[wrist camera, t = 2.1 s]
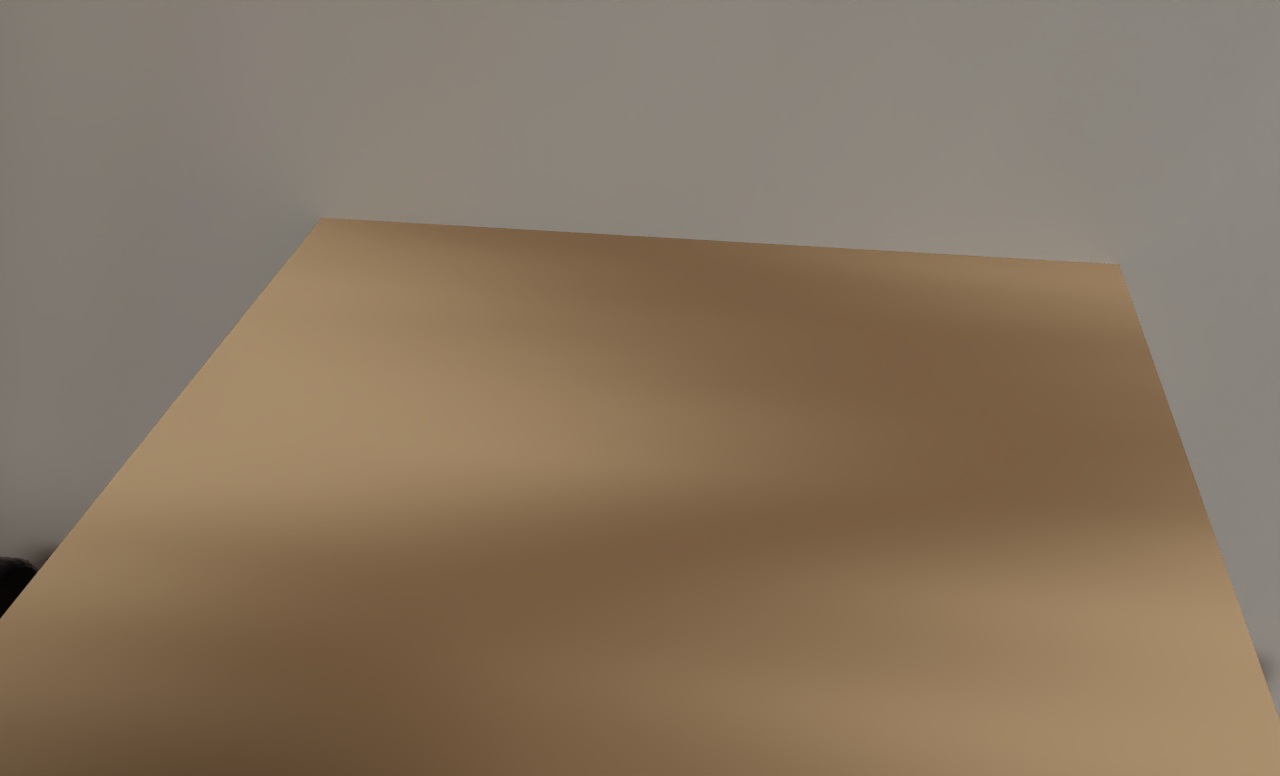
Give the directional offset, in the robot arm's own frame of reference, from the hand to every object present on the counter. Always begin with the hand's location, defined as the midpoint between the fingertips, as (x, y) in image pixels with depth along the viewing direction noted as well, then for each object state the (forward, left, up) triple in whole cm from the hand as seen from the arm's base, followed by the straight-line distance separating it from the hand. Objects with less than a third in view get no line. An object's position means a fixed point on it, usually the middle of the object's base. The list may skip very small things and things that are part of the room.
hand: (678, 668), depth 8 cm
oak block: (0, 0, -1) cm, 1 cm away
